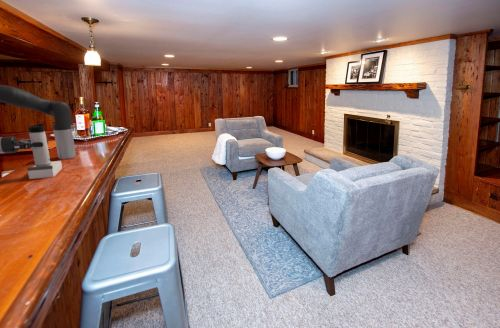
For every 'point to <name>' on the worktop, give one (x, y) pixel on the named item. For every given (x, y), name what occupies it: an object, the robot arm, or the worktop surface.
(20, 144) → the robot arm
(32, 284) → the worktop surface
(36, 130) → the travel mug
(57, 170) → the dock
